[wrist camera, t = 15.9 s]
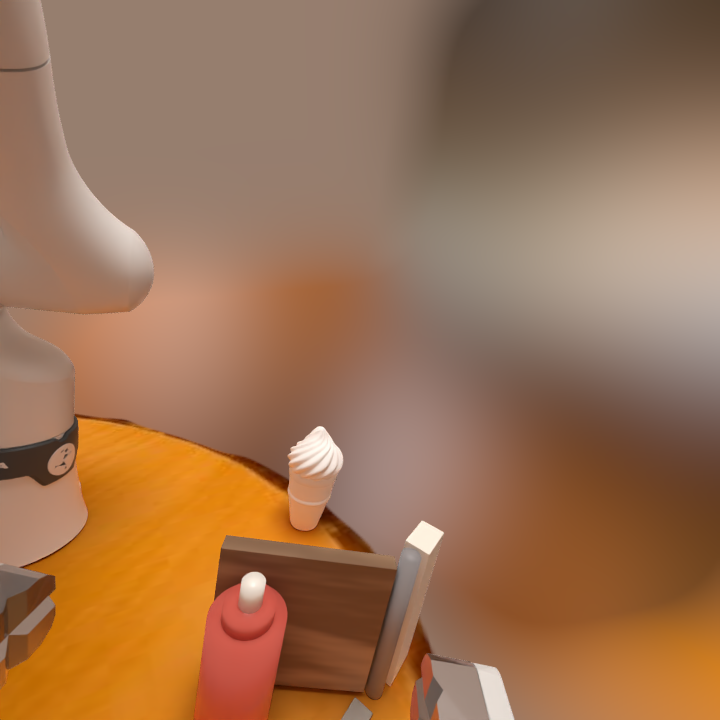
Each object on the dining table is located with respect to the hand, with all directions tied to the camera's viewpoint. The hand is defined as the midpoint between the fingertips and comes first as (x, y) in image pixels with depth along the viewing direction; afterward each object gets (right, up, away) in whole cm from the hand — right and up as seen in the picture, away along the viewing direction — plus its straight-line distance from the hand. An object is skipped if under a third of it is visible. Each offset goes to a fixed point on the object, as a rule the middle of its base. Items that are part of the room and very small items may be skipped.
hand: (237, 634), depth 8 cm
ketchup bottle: (-8, -25, +23) cm, 35 cm away
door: (-4, -24, +28) cm, 37 cm away
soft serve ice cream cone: (-6, -20, +49) cm, 53 cm away
